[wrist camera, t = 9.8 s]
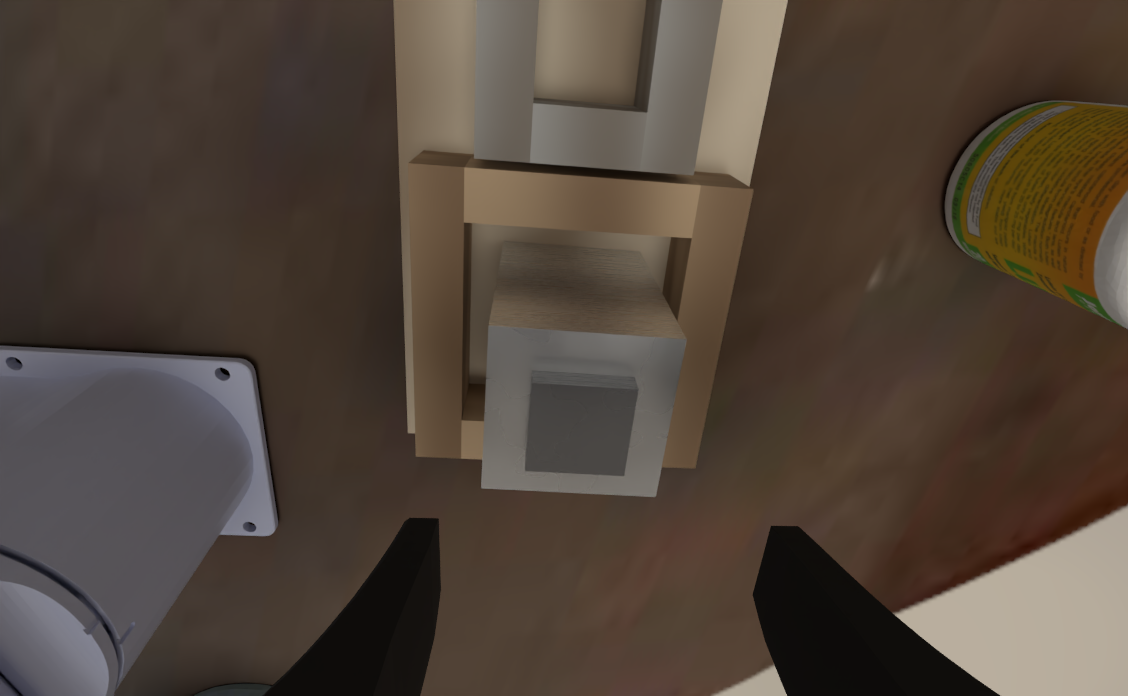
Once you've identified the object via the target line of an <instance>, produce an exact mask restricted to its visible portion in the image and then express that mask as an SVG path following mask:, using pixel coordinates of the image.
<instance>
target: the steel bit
mask: <svg viewBox="0 0 1128 696" xmlns="http://www.w3.org/2000/svg"><path fill="white" fill-rule="evenodd" d="M686 341H687V339H686V337H685V335H684V333H683V331H682V330H681V328H680V326H679V324H678V322H677V320H676V318H675V316H674V315H673V313H672V311H671V309H670V307H669V305H668V303H667V301H666V300H665V298H664V296H663V294H662V292H661V290H660V288H659V286H658V285H657V283H656V281H655V279H654V277H653V275H652V273H651V271H650V270H649V268H648V266H647V264H646V262H645V260H644V258H643V256H642V254H641V253H640V252H639V251H627V250H615V249H602V248H590V247H578V246H565V245H553V244H540V243H528V242H516V241H504V242H503V248H502V253H501V259H500V264H499V270H498V275H497V281H496V287H495V292H494V298H493V303H492V309H491V314H490V320H489V325H488V347H487V370H486V392H485V414H484V436H483V458H482V480H481V488H486V489H506V490H526V491H546V492H566V493H586V494H606V495H627V496H647V497H656V493H657V488H658V483H659V478H660V473H661V468H662V462H663V457H664V452H665V447H666V442H667V437H668V432H669V427H670V422H671V417H672V412H673V407H674V402H675V397H676V391H677V386H678V381H679V376H680V371H681V366H682V361H683V356H684V351H685V346H686Z"/></svg>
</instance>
